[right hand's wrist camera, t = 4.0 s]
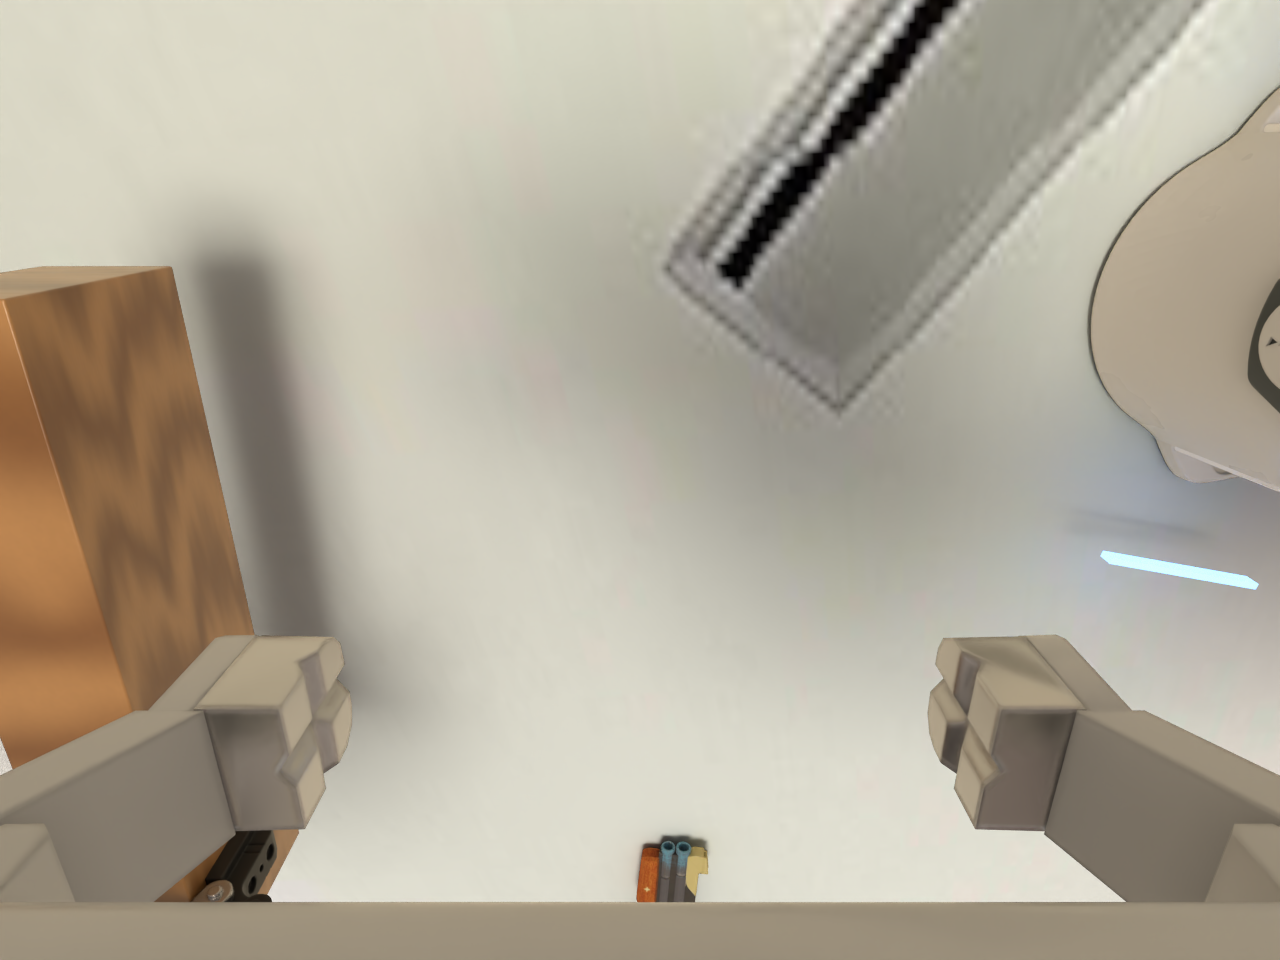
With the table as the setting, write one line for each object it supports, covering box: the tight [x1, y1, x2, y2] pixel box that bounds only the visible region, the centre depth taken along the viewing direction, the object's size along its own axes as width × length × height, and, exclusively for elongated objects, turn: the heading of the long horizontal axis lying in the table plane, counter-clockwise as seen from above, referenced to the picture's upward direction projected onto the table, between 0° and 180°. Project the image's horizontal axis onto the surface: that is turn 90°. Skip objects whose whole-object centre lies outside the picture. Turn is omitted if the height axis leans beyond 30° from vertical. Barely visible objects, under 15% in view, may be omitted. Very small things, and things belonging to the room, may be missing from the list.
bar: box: [0, 266, 299, 902], centre depth 29 cm, size 27×5×8 cm, turn 0°
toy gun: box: [637, 841, 708, 902], centre depth 52 cm, size 3×19×10 cm
